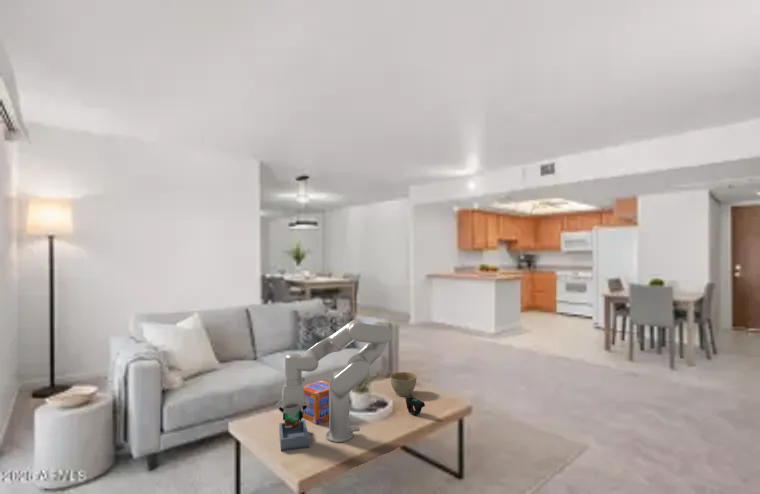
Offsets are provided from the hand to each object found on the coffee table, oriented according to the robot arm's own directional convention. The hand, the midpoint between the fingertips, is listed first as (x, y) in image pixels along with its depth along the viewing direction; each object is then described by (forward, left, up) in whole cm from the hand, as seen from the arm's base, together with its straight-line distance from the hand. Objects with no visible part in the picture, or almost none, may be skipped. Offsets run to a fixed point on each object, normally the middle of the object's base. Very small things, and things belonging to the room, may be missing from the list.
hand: (292, 420), depth 191 cm
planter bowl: (-69, -44, -9) cm, 82 cm away
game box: (-15, -25, -9) cm, 31 cm away
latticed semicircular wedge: (-1, 0, -3) cm, 3 cm away
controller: (-64, -12, -9) cm, 66 cm away
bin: (0, 0, -9) cm, 9 cm away
